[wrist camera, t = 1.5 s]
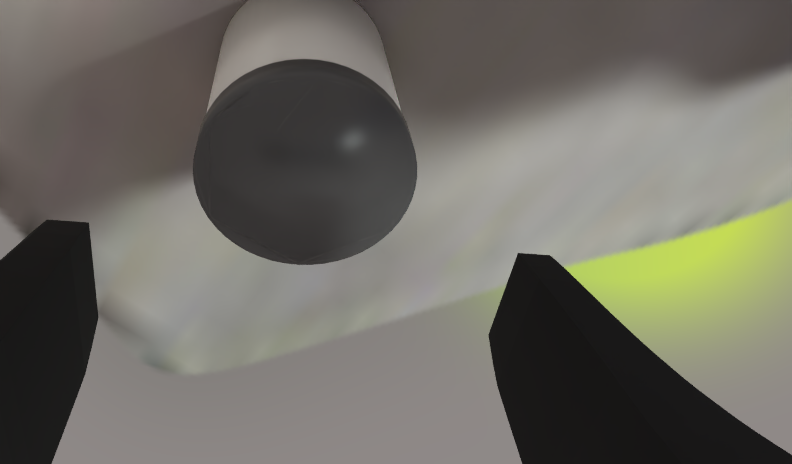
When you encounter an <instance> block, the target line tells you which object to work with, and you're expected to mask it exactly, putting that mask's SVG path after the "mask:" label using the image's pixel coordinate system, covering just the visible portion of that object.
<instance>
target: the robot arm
mask: <svg viewBox="0 0 792 464" xmlns="http://www.w3.org/2000/svg"><path fill="white" fill-rule="evenodd" d="M97 321H98V310H97V300H96V290H95V280H94V270H93V260H92V250H91V240H90V230H89V223H86V222H72V221H58V220H46V221H45V222H44V223H42V224H41V225H40V226H39V227H38V228H36V229H35V230H34V231H33V232H32V233H31V234H29V235H28V236H27V237H26V238H25V239H24V240H23V241H21V242H20V243H19V244H18V245H17V246H16V247H15V248H14V249H13V250H11V251H10V252H9V253H8V254H7V255H6V256H5V257H3V258H2V259H1V260H0V464H51V463H52V461H53V458H54V456H55V452H56V450H57V448H58V445H59V442H60V440H61V437H62V434H63V432H64V429H65V426H66V424H67V421H68V419H69V416H70V413H71V410H72V408H73V405H74V403H75V400H76V397H77V395H78V392H79V389H80V387H81V384H82V381H83V378H84V375H85V372H86V368H87V364H88V360H89V356H90V352H91V348H92V343H93V339H94V334H95V330H96V325H97ZM489 340H490V347H491V353H492V359H493V365H494V371H495V376H496V381H497V386H498V389H499V392H500V396H501V399H502V402H503V405H504V408H505V412H506V415H507V418H508V421H509V424H510V427H511V430H512V433H513V436H514V439H515V442H516V445H517V449H518V452H519V455H520V458H521V461H522V464H792V455H791V454H789V453H788V452H786V451H785V450H783V449H782V448H780V447H778V446H777V445H775V444H773V443H772V442H771V441H769V440H768V439H766V438H765V437H763V436H761V435H760V434H758V433H757V432H755V431H754V430H752V429H751V428H749V427H748V426H747V425H745V424H744V423H742V422H741V421H739V420H738V419H737V418H735V417H734V416H732V415H731V414H730V413H728V412H727V411H726V410H724V409H723V408H722V407H720V406H719V405H718V404H716V403H715V402H714V401H712V400H711V399H710V398H708V397H707V396H705V395H704V394H703V393H702V392H700V391H699V390H698V389H696V388H695V387H694V386H693V385H691V384H690V383H689V382H688V381H686V380H685V379H684V378H683V377H681V376H680V375H679V374H678V373H677V372H676V371H674V370H673V369H672V368H671V367H670V366H668V365H667V364H666V363H665V362H664V361H663V360H661V359H660V358H659V357H658V356H657V355H656V354H655V353H653V352H652V351H651V350H650V349H649V348H648V347H647V346H645V345H644V344H643V343H642V342H641V341H640V340H639V339H638V338H637V337H636V336H634V335H633V334H632V333H631V332H630V331H629V330H628V329H627V328H626V327H625V326H624V325H623V324H622V323H621V322H620V321H619V320H617V319H616V318H615V317H614V316H613V315H612V314H611V313H610V312H609V311H608V310H607V309H606V308H605V307H604V306H603V305H602V304H601V303H600V302H599V301H598V300H597V299H596V298H595V297H593V295H592V294H590V293H589V292H588V291H587V290H586V289H585V288H584V287H583V286H582V285H581V284H580V283H579V282H578V281H577V280H576V279H575V278H574V277H573V276H572V275H571V274H570V273H569V272H568V271H567V270H566V269H565V268H564V267H562V266H561V265H560V264H559V263H558V262H557V261H556V260H555V259H553V258H552V257H551V256H550V255H537V254H523V253H518V255H517V258H516V260H515V263H514V266H513V269H512V271H511V274H510V277H509V280H508V282H507V285H506V288H505V291H504V294H503V296H502V299H501V302H500V305H499V307H498V310H497V313H496V316H495V318H494V321H493V324H492V327H491V329H490V333H489Z"/></svg>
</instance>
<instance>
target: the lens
mask: <svg viewBox="0 0 792 464" xmlns="http://www.w3.org/2000/svg"><path fill="white" fill-rule="evenodd" d="M193 177H194V185H195V189H196V193H197V196H198V199H199V201H200V204H201V206H202V208H203V210H204V211H205V213H206V215H207V216H208V218H209V219H210V220H211V222H212V223H213V224H214V225H215V227H216V228H217V229H218V230H219V231H220V232H221V233H222V234H223V235H224V236H225V237H227V238H228V239H229V240H231V241H232V242H233V243H235V244H236V245H238V246H240V247H241V248H243V249H245V250H246V251H248V252H251V253H253V254H255V255H257V256H260V257H263V258H266V259H269V260H272V261H277V262H282V263H288V264H297V265H313V264H323V263H329V262H334V261H339V260H342V259H345V258H348V257H351V256H353V255H356V254H358V253H360V252H363V251H364V250H366V249H368V248H370V247H371V246H373V245H375V244H376V243H377V242H379V241H380V240H381V239H383V238H384V237H385V236H386V235H387V234H388V233H389V232H391V231H392V230H393V228H394V227H395V226H396V225H397V224H398V223H399V221H400V220H401V218H402V217H403V215H404V214H405V212H406V211H407V209H408V207H409V204H410V202H411V200H412V197H413V194H414V190H415V186H416V179H417V161H416V155H415V150H414V146H413V143H412V139H411V136H410V132H409V129H408V126H407V123H406V120H405V118H404V116H403V114H402V112H401V108H400V105H399V101H398V97H397V94H396V90H395V86H394V83H393V79H392V76H391V72H390V68H389V65H388V61H387V57H386V54H385V50H384V47H383V43H382V40H381V37H380V34H379V32H378V30H377V28H376V26H375V24H374V23H373V21H372V20H371V18H370V16H369V15H368V14H367V13H366V12H365V11H364V10H363V8H362V7H360V6H359V5H358V4H357V3H356V2H355V1H354V0H248V1H247V2H246V3H245V4H244V5H243V6H242V7H240V9H239V10H238V11H237V12H236V14H235V15H234V16H233V18H232V19H231V21H230V23H229V24H228V26H227V29H226V31H225V34H224V37H223V41H222V45H221V50H220V54H219V59H218V63H217V68H216V72H215V76H214V81H213V85H212V90H211V94H210V99H209V103H208V108H207V112H206V115H205V118H204V120H203V123H202V125H201V129H200V133H199V137H198V141H197V146H196V150H195V155H194V162H193Z"/></svg>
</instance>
